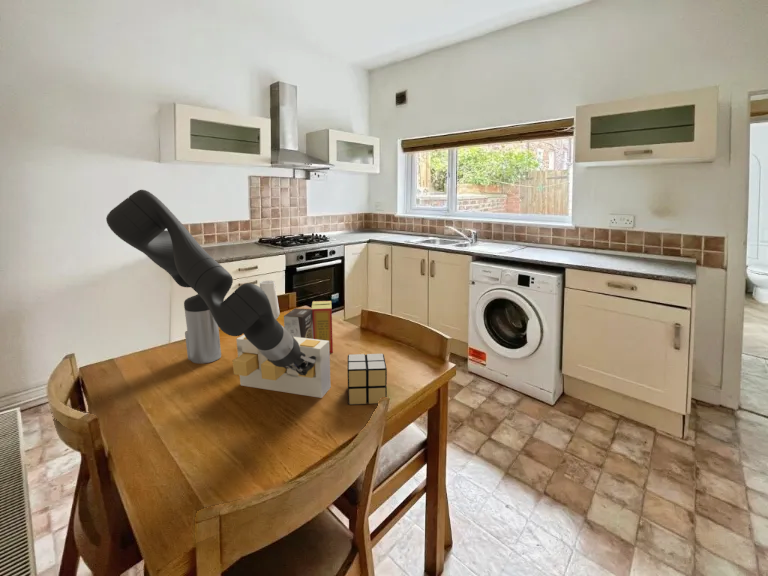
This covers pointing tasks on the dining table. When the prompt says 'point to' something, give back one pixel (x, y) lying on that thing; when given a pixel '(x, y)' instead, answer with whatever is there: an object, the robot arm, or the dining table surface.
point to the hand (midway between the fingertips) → (304, 371)
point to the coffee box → (299, 323)
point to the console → (290, 378)
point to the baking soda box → (322, 321)
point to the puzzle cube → (366, 378)
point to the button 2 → (271, 371)
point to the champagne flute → (271, 296)
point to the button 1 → (245, 364)
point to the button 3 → (310, 373)
